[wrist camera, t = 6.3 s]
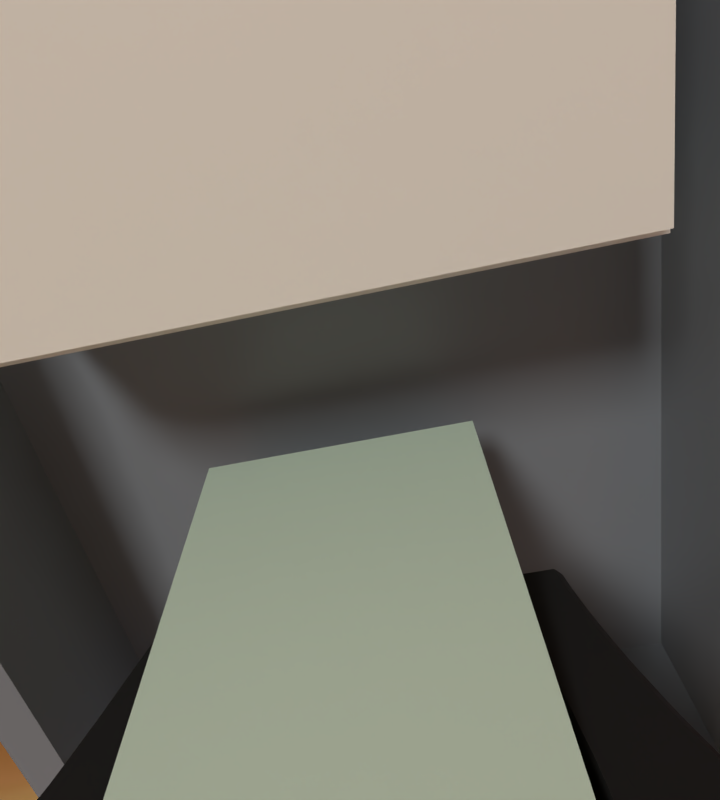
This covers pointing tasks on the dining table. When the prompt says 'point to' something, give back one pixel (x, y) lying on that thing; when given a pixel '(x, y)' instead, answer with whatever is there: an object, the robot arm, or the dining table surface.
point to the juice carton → (351, 639)
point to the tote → (389, 415)
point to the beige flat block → (312, 152)
